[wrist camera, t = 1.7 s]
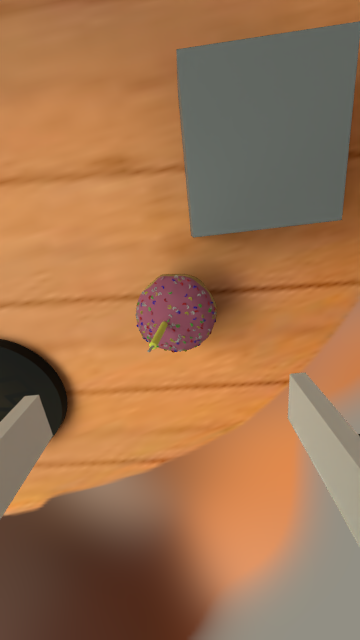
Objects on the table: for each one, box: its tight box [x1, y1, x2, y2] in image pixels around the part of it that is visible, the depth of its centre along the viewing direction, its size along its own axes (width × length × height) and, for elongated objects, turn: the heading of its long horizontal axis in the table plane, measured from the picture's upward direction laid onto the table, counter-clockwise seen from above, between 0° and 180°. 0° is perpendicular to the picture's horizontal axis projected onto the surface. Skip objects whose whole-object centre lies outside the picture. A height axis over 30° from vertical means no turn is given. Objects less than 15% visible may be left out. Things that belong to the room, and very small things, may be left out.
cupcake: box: [136, 274, 217, 352], centre depth 25 cm, size 9×8×12 cm
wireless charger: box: [0, 339, 67, 437], centre depth 35 cm, size 18×18×2 cm
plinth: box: [177, 21, 360, 237], centre depth 23 cm, size 13×13×6 cm
